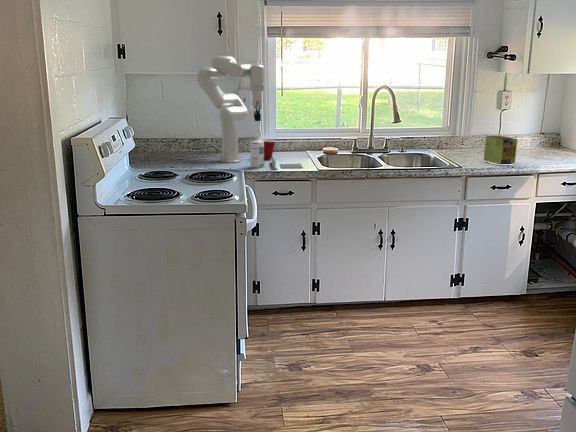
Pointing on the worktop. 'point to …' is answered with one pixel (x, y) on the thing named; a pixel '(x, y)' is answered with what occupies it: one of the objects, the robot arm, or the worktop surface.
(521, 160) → the worktop surface
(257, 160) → the syrup box
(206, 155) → the worktop surface
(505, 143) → the protein box
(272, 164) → the acrylic divider
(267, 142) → the plastic cup
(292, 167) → the slate mat
